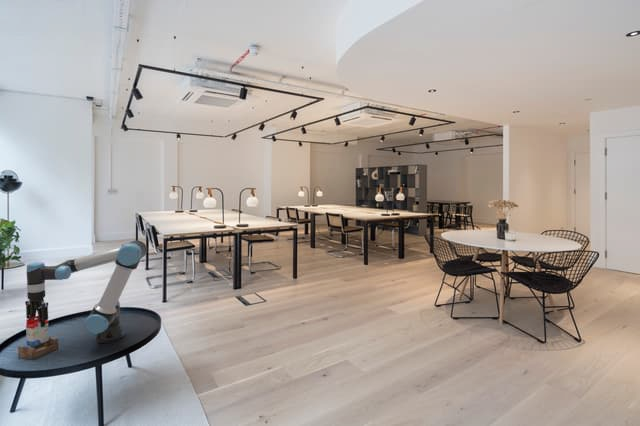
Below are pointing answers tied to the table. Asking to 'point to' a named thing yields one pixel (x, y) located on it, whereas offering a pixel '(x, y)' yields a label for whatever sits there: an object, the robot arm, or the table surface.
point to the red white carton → (35, 332)
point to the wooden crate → (38, 349)
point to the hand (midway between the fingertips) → (37, 331)
